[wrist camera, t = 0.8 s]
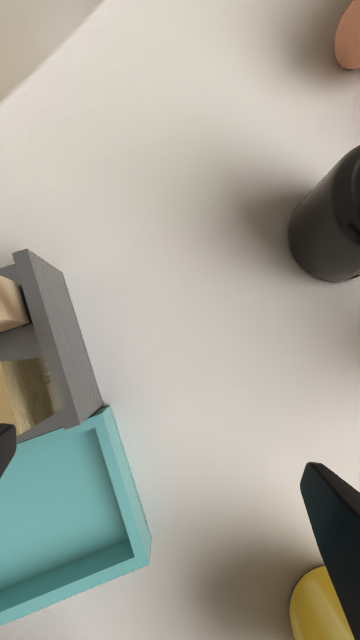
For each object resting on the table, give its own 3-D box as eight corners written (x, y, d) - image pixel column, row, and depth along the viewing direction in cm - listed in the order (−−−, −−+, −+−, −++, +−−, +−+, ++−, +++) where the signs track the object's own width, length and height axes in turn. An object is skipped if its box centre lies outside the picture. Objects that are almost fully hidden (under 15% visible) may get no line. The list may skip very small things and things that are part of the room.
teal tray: (151, 537, 20) (149, 564, 18) (-23, 607, 19) (-51, 646, 17) (110, 405, 21) (102, 413, 19) (-58, 465, 20) (-90, 483, 18)
